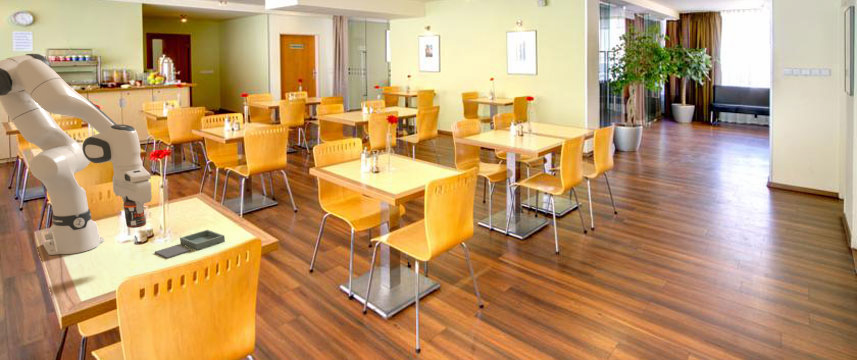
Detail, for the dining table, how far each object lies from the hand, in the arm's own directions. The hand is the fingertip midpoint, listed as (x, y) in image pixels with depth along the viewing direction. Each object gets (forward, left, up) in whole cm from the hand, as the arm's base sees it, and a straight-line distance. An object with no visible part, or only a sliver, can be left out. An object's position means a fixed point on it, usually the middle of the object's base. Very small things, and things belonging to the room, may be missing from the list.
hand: (134, 211), depth 184 cm
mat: (+1, +11, -19) cm, 22 cm away
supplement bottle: (0, 0, -6) cm, 6 cm away
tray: (+1, +23, -19) cm, 30 cm away
